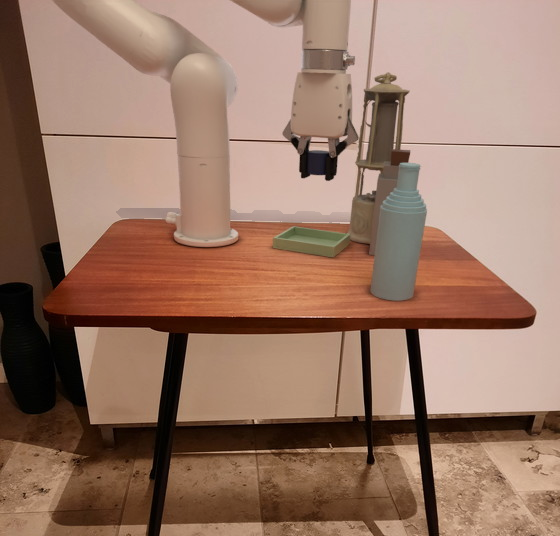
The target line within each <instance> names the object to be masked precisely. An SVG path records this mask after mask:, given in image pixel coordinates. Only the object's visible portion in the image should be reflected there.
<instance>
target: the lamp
mask: <svg viewBox="0 0 560 536" xmlns="http://www.w3.org/2000/svg"><path fill="white" fill-rule="evenodd" d="M373 79H374V82H375V83H377V84H376V85H373V86H372V87H370V88H363V92H364V96H363V112H362V120H361V125H360V129H359V136H358V137H359V139H358V146H357V148H358V151H357V156H356V160H355V162H354V163H355V165H356V166H357V169H358V171H357V178H356V185H355V194H354V196H353V197H352V200H351V210H350V219H349V227H348V230H347V232H346V234H351V236H350V241H351V242H355V243H359V244H367V245H370V241H371V232H372V224H373V215H374V206H375V198H376V190H371V192H366V193H365V194H363V189H364V179H365V174H364V173H365V171H366V170H369V171H375V172H376V171H377V172H378V171H379V173H380V174H384V168H383V165H384V161H388V162H391V151H392V149H398V150H402V149H401V147H402V139H403V138H402V137H403V128H404V127H403V126H404V110H405V109H404V107H405V103H406V96H407V95H409V94H410V92H411V91H410V89H409V90H408V89H403V87H402V86H401V87H400V85H398V84H394V83H392V82H396V81H397V79H398V78H397V75H395V74H392V73H391V72H386V73H385V74H379V75H377V76H375V77H374V78H373ZM370 102H372V103H371V106H372V108H371V119H370V122H371V123H370V124H369V123H368V122H367V121H366V120H365V118H366V111H367V107H368V105H369V104H370ZM396 123H397V125H396ZM365 125H366V126H367V127H368V128H369V135H368V143H367V151H366V157H365V159H361V152H362V145H363V136H364V128H365ZM395 134H396V136H395ZM394 146H395V147H394ZM361 169H362V172H361Z"/></svg>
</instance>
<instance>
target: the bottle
mask: <svg viewBox="0 0 560 536" xmlns="http://www.w3.org/2000/svg"><path fill="white" fill-rule="evenodd" d="M421 167H422V166H421V164H419V163H416V162H408V163H400V165H399V172H398V180H397V188H394V190H393V192H391V193H390V196H387V197H386V200H384V201H383V203H382V205H381V207H380V215H379V223H378V232H377V240H376V248H375V255H373V256H374V258H373V265H372V266H373V267H372V272H371V273H372V274H371V282H370V290H369V291H370V294H371V295H372V296H374V297H376V298H378V299H381V300H385V301H394V302H401V301H402V302H403V301H408V300H411V299H412V298H413V297H414V294H415V287H416V282H417V281H416V280H417V276H418V270H419V269H418V268H419V263H420V258H421V250H422V244H423V240H424V239H423V238H424V232H425V225H426V221H427V214H428V208H427V203H425V199H424V198H422V194H420V190H419V189H417V188H418V182H419V176H420V171H421Z"/></svg>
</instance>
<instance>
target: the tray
mask: <svg viewBox="0 0 560 536" xmlns="http://www.w3.org/2000/svg"><path fill="white" fill-rule="evenodd" d="M350 236H351V234H347V232H346V233H345V232H339V231H331V230H324V229H316V228H310V227H303V226H297V225H293V226H291V227H289V228H288V229H285V230H284V231H282V232H281V233H279V234H277V235H275V236H273V237H272V249H277V250H283V251H288V252H294V253H301V254H307V255H315V256H321V257H327V258H335V257H336V256H337V255H339V254H340V253H341V252H342V251H344V250H345V249H346V248H347V247H348V246H349V245H350V244H351V240H350Z"/></svg>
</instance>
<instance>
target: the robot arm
mask: <svg viewBox="0 0 560 536" xmlns="http://www.w3.org/2000/svg"><path fill="white" fill-rule="evenodd" d="M229 1H230V2H232V3H234V4H235V5H237V6H239V7H241V8H243V9H244V10H246V11H248V12H249V13H251V14H252V15H254V16H256V18H257V17H258V18H259V19H261V20H262V21H263V22H266V23H268V24H269V25H271V26H273V27H275V28H281V29H284V28H292V27H293V28H294V27H299V26H302V35H301V36H302V37H301V39H302V40H301V64H300V72H297V75H296V78H295V82H294V89H293V94H292V101H291V112H290V119H289V121H288V123H287V124H286V125H285V127H284V129H283V131H282V136H283V137H284V138H285V139H286V140H287V141H288V142H290V143H291V145H292V146H293V147H294V149H295V150H296V151H297V155H299V163H298V164H299V165H298V171H299V173H300V179H306V178H309V177H311V175H310V174H307V152H308V151H310V147H311V141H312V138H319V139H320V138H322V139H327V143H328V144H327V145H328V151H329V157H327V158H326V169H325V175H324V180H325V181H326V182H330V181H332V180H334V179H335V176H337V173H338V159H339V156H340V155H341V154H342V153H343V152H344V151H345V150H346V149H347V148H348V147H350V146H351V145H353V144H354V143H356V142H357V141H359V137H360V136H359V135H358V133H357V131H356V128H355V126H354V124H353V86H352V85H353V84H352V74H351V73H347V70H348V67H350V66H355V64H356V56H355V55H351V54H349V51H348V48H349V36H350V35H349V33H350V19H351V10H352V9H351V8H352V0H229ZM52 2H53V3H54V4H55V5H56V6H57V7H58V9H60V10H61V11H62V12H63V13H64V14H66V15H67V16H68V17H69V18H70V19H71V20H73V21H74V22H75V23H77V25H79V26H81V27H82V28H83V29H84V30H86V31H87V32H88V33H89V34H90V35H92V36H93V37H95V38H96V39H97V40H98V41H99V42H101V44H102V45H105V46H106V47H107V48H109V49H110V50H111V51H112V52H114V53H115V54H116V55H118V56H119V57H120V58H121V59H123V60H124V61H125V62H126V63H127V64H129V65H131V67H132V68H133V69H135V70H136V71H138V72H139V73H141V74H143V75H147V76H155V77H160V78H162V79H163V80H164V81H165V82H167V83H168V84H170V86H169V87H170V89H169V90H170V100H171V106H172V112H173V120H174V126H175V127H174V128H175V138H176V139H175V140H176V154H177V165H178V166H177V168H178V171H177V172H178V186H179V187H178V189H179V209H180V213H178V212H171V211H168V213H166V217H165V224H166V225H175V227H176V230H175V231H174V232H173V238H174V241H175V242H177V243H179V244H181V245H184V246H190V247H196V248H216V247H224V246H229V245H233V244H234V243H236V242H238V240H239V232H238V231H237V230H236V229H234V228H231V155H230V153H231V152H230V146H231V145H230V127H229V117H228V116H229V114H228V108H229V107H231V106H232V105H233V103H234V101H235V99H236V97H237V94H238V89H239V88H238V87H239V84H238V83H239V81H238V77H237V73H236V72H235V68H234V67H233V65H231V64H230V62H229V61H228V60H227V59H226V58H224V57H223V56H222V55H221V54H219V53H218V51H216V50H214V49H213V48H211V47H210V46H209V45H208V44H207V43H205V42H204V41H203V40H201V39H200V38H199V37H198V36H196V35H195V34H194V33H192V32H191V31H190V30H188V28H186V27H185V26H183V25H182V24H181V23H179V22H177V20H175V19H173V18H171V17H170V16H167V15H165V14H160V13H158V12H154V11H152V10H150V9H148V8H146V7H145V6H143V5H142V4H140V3H139V2H137V1H136V0H52ZM343 137H346V138H344V139H343V140H340V138H343Z"/></svg>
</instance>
